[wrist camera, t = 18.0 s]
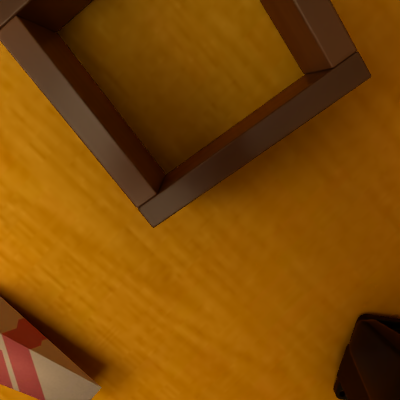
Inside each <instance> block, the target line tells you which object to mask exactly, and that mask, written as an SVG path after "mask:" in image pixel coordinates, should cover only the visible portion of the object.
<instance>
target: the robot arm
mask: <svg viewBox="0 0 400 400" xmlns="http://www.w3.org/2000/svg"><path fill="white" fill-rule="evenodd" d="M341 391H342V392H341ZM334 392H335V394H336V397H337V398H339V399H343V400H400V319H398V318H391V317H384V316H377V315H370V314H363V315H361V316H360V317H358V319H357V322H356V325H355V328H354V330H353V333H352V336H351V339H350V342H349V344H348V345H347V347H346V350H345V353H344V356H343V358H342V361H341V364H340V367H339V370H338V373H337V380H336V383H335V386H334Z"/></svg>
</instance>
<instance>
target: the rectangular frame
mask: <svg viewBox="0 0 400 400" xmlns="http://www.w3.org/2000/svg"><path fill="white" fill-rule="evenodd" d="M91 1H93V0H0V41H1V42H2V43H3V45H4V46H5V47H6V48H7V50H8V51H9V52H10V53H11V55H12V56H13V57H14V58H15V59H16V61H17V62H18V63H19V64H20V66H21V67H22V68H23V69H24V70H25V72H26V73H27V74H28V75H29V77H30V78H31V79H32V80H33V81H34V83H35V84H36V85H37V86H38V88H39V89H40V90H41V91H42V92H43V94H44V95H45V96H46V97H47V99H48V100H49V101H50V102H51V103H52V105H53V106H54V107H55V108H56V110H57V111H58V112H59V113H60V114H61V116H62V117H63V118H64V119H65V121H66V122H67V123H68V124H69V125H70V127H71V128H72V129H73V130H74V132H75V133H76V134H77V135H78V137H79V138H80V139H81V140H82V141H83V143H84V144H85V145H86V146H87V148H88V149H89V150H90V151H91V152H92V154H93V155H94V156H95V157H96V159H97V160H98V161H99V162H100V163H101V165H102V166H103V167H104V168H105V170H106V171H107V172H108V173H109V174H110V176H111V177H112V178H113V179H114V181H115V182H116V183H117V184H118V185H119V187H120V188H121V189H122V190H123V192H124V193H125V194H126V195H127V196H128V198H129V199H130V200H131V201H132V203H133V204H134V205H135V206H136V207H137V208H138V210H139V211H140V212H141V214H142V215H143V216H144V217H145V219H146V220H147V221H148V222H149V223H150V225H151V226H152V227H153V228H154V227H156V226H157V225H159V224H160V223H162V222H163V221H164V220H166V219H167V218H169V217H170V216H172V215H173V214H175V213H176V212H177V211H179V210H180V209H182V208H183V207H185V206H186V205H187V204H189V203H190V202H192V201H193V200H195V199H196V198H198V197H199V196H200V195H202V194H203V193H205V192H206V191H208V190H209V189H211V188H212V187H213V186H215V185H216V184H218V183H219V182H221V181H222V180H224V179H225V178H226V177H228V176H229V175H231V174H232V173H234V172H235V171H236V170H238V169H239V168H241V167H242V166H244V165H245V164H247V163H248V162H249V161H251V160H252V159H254V158H255V157H257V156H258V155H260V154H261V153H262V152H264V151H265V150H267V149H268V148H270V147H271V146H272V145H274V144H275V143H277V142H278V141H280V140H281V139H283V138H284V137H285V136H287V135H288V134H290V133H291V132H293V131H294V130H296V129H297V128H298V127H300V126H301V125H303V124H304V123H306V122H307V121H308V120H310V119H311V118H313V117H314V116H316V115H317V114H319V113H320V112H321V111H323V110H324V109H326V108H327V107H329V106H330V105H332V104H333V103H334V102H336V101H337V100H339V99H340V98H342V97H343V96H345V95H346V94H347V93H349V92H350V91H352V90H353V89H355V88H356V87H357V86H359V85H360V84H362V83H363V82H365V81H366V80H368V79H369V78H370V77H371V74H370V72H369V70H368V68H367V67H366V65H365V63H364V61H363V59H362V57H361V56H360V54H359V52H356V51H357V49H356V47H355V45H354V43H353V42H352V40H351V38H350V36H349V34H348V32H347V31H346V29H345V27H344V25H343V23H342V21H341V20H340V18H339V16H338V14H337V12H336V10H335V9H334V7H333V5H332V3H331V1H330V0H260V1H261V3H262V5H263V6H264V8H265V10H266V11H267V13H268V15H269V16H270V18H271V20H272V21H273V23H274V25H275V26H276V28H277V30H278V31H279V33H280V35H281V36H282V38H283V40H284V41H285V43H286V45H287V46H288V48H289V50H290V52H291V53H292V55H293V57H294V58H295V60H296V62H297V63H298V65H299V67H300V68H301V70H302V72H303V73H304V74H305V75H304V76H302V77H301V78H300V79H298V80H297V81H295V82H294V83H293V84H291V85H290V86H289V87H287V88H286V89H284V90H283V91H282V92H280V93H279V94H278V95H276V96H275V97H273V98H272V99H271V100H269V101H268V102H266V103H265V104H264V105H262V106H261V107H260V108H258V109H257V110H255V111H254V112H253V113H251V114H250V115H248V116H247V117H246V118H244V119H243V120H242V121H240V122H239V123H237V124H236V125H235V126H233V127H232V128H230V129H229V130H228V131H226V132H225V133H224V134H222V135H221V136H219V137H218V138H217V139H215V140H214V141H212V142H211V143H210V144H208V145H207V146H206V147H204V148H203V149H201V150H200V151H199V152H197V153H196V154H194V155H193V156H192V157H190V158H189V159H188V160H186V161H185V162H183V163H182V164H181V165H179V166H178V167H176V168H175V169H174V170H172V171H171V172H170V173H168V174H167V175H165V173H164V172H163V170H162V169H161V168H160V166H159V165H158V164H157V162H156V161H155V160H154V159H153V157H152V156H151V155H150V153H149V152H148V151H147V149H146V148H145V147H144V146H143V144H142V143H141V142H140V140H139V139H138V138H137V136H136V135H135V134H134V133H133V131H132V130H131V129H130V127H129V126H128V125H127V123H126V122H125V121H124V120H123V118H122V117H121V116H120V114H119V113H118V112H117V110H116V109H115V108H114V107H113V105H112V104H111V103H110V101H109V100H108V99H107V97H106V96H105V95H104V94H103V92H102V91H101V90H100V88H99V87H98V86H97V84H96V83H95V82H94V80H93V79H92V78H91V77H90V75H89V74H88V73H87V71H86V70H85V69H84V67H83V66H82V65H81V64H80V62H79V61H78V60H77V58H76V57H75V56H74V54H73V53H72V52H71V51H70V49H69V48H68V47H67V45H66V44H65V43H64V41H63V40H62V39H61V38H60V36H59V35H58V34H57V33H56V32H57V31H58V30H59V29H61V28H62V27H63V26H64V25H65V24H66V23H67V22H69V21H70V20H71V19H72V18H73V17H74V16H75V15H77V14H78V13H79V12H80V11H81V10H82V9H83V8H85V7H86V6H87V5H88V4H89V3H90V2H91Z"/></svg>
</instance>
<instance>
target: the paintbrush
mask: <svg viewBox="0 0 400 400" xmlns="http://www.w3.org/2000/svg"><path fill="white" fill-rule="evenodd" d="M0 384H2V385H4V386H7V387H9V388H12V389H15V390H17V391H20V392H22V393H25V394H27V395H30V396H32V397H35V398H37V399H40V400H91V399H92V398H93V397H94V395H95V394H96V393H97V392H98V391H99V390H100V389H101V387H100V386H99V385H98V384H97V383H96V382H95V381H94V380H93V379H91V378H90V377H89V376H88V375H87V374H86V373H85V372H84V371H83V370H81V369H80V368H79V367H78V366H77V365H76V364H75V363H74V362H73V361H71V360H70V359H69V358H68V357H67V356H66V355H65V354H64V353H63V352H61V351H60V350H59V349H58V348H57V347H56V346H55V345H54V344H53V343H51V342H50V341H49V340H48V339H47V338H46V337H45V336H44V335H43V334H41V333H40V332H39V331H38V330H37V329H36V328H35V327H34V326H33V325H31V324H30V323H29V322H28V321H27V320H26V319H25V318H24V317H23V316H21V315H20V314H19V313H18V312H17V311H16V310H15V309H14V308H13V307H11V306H10V305H9V304H8V303H7V302H6V301H5V300H4V299H3V298H1V297H0Z"/></svg>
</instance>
